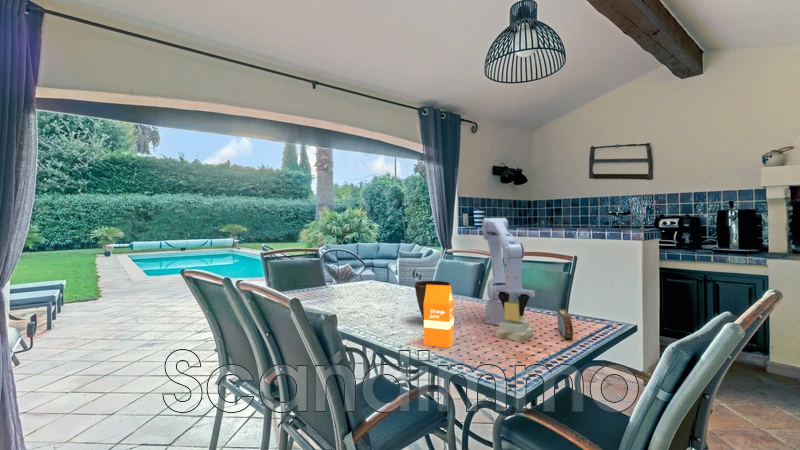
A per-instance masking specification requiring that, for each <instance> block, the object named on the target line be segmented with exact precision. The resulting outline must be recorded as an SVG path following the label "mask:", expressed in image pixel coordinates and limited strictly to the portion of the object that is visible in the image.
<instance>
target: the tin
mask: <svg viewBox="0 0 800 450" xmlns="http://www.w3.org/2000/svg"><path fill="white" fill-rule="evenodd" d="M556 315H557V316H556V317H557V318H556V319H557V329H558V330H559V333H560V334H561V335H562V337H563V338H564V339H573V337H574V328H573V322H572V321H573V320H572V318H571V315H570V313H568V311H567V310H566V309H565V308H563V309H557V310H556Z"/></svg>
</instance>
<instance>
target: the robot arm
mask: <svg viewBox="0 0 800 450" xmlns="http://www.w3.org/2000/svg"><path fill="white" fill-rule="evenodd" d="M508 222H509V221H508V219H507V218H506V217H483V218H482V222H481V230H482V231H481V232H482V236H483V239H484V240H485V241H487V244H488V248H489V257H490V264H491V270H492V278H491V279H490V280H489V281H488V282H487V298H488V300H487V301H486V303H485V321H484V323H485V324H489V325H494V326H499V322H501V321H503V320H505V308H504V302H507V301H509V300H515V297H516V295H518V296H517V299H518V301H519V306H520V310H519V313H520V316H523V317H524V314H525V309H526V307H527V304H528V301H529V299H530V298H534V297H535V296H536V291H535V290H532V289H528V288H523V278H522V277H523V275H522V274H523V273H522V272H523V271H522V268H523V267H522V265H523V264H522V262H523V261H522V260H523V259H524V257H525V248H524V244H523V243H522V242H517V240H516V238H515V237H514V235H513V233H511V232H508V227H509V223H508Z"/></svg>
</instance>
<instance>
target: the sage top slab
mask: <svg viewBox="0 0 800 450" xmlns="http://www.w3.org/2000/svg"><path fill="white" fill-rule="evenodd" d="M529 327H530V320H523V319H521V320H520V321H513V320H507V319H505V320H503V321H501V322H499V325H498V328H499V330H504V331H509V332H514V333H520V334H522V333H523V332H524V331H526V330H527V329H529Z"/></svg>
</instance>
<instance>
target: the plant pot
mask: <svg viewBox="0 0 800 450" xmlns="http://www.w3.org/2000/svg"><path fill="white" fill-rule="evenodd" d="M427 285H448V286H451V283H450V282H448V281H443V280H441V281H440V280H422V281H417V282H414V289H415V295H416V300H417V304H418V308H419V312H420V314H421V317H422V319H423V321H424V298H425V292H426V286H427Z"/></svg>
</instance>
